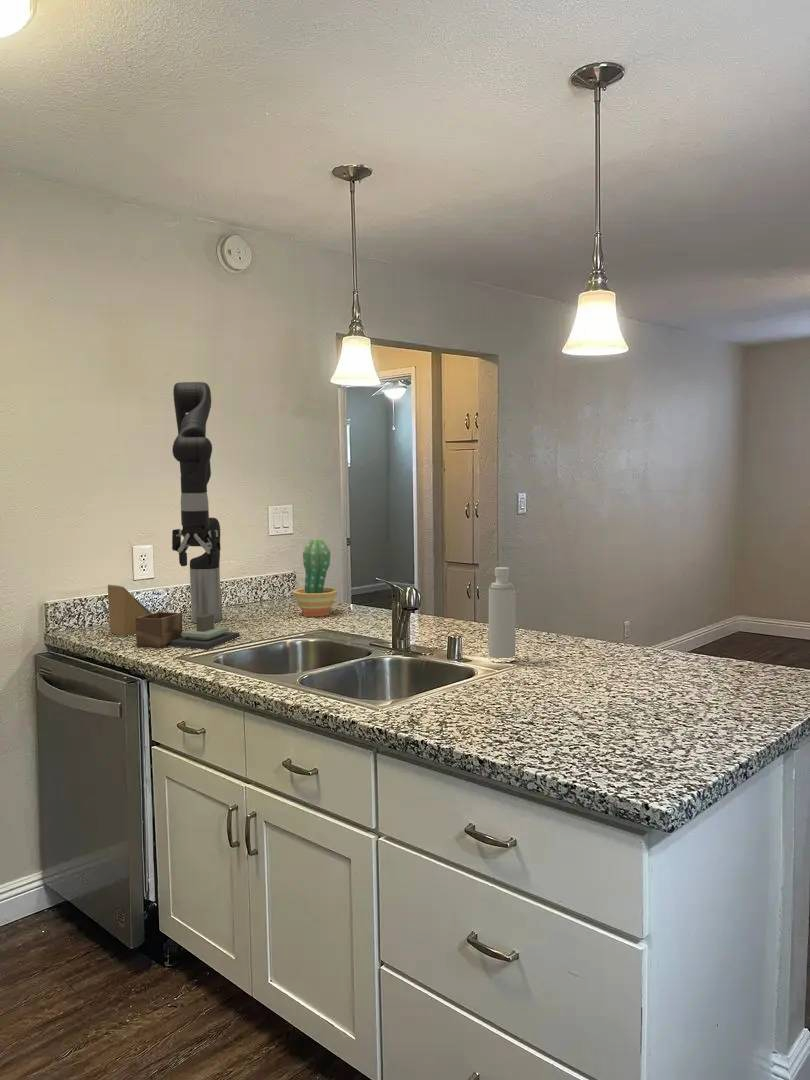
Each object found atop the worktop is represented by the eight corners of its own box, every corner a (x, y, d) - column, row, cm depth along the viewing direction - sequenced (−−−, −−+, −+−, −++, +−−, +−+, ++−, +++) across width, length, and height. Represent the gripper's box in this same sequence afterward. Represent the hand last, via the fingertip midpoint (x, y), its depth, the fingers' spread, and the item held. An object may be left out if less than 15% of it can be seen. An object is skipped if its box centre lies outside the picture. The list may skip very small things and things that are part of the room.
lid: (203, 632, 237) (203, 611, 236) (229, 634, 234) (228, 613, 233) (181, 639, 227) (180, 618, 226) (207, 641, 224) (207, 620, 223)
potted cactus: (348, 613, 273) (347, 539, 271) (314, 620, 262) (312, 542, 260) (317, 608, 283) (316, 536, 281) (282, 615, 272) (281, 540, 270)
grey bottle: (506, 664, 201) (507, 563, 199) (483, 660, 205) (483, 562, 203) (520, 659, 207) (520, 561, 204) (497, 655, 211) (497, 559, 208)
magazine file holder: (170, 629, 250) (168, 580, 249) (125, 637, 238) (123, 586, 237) (154, 626, 255) (152, 578, 254) (109, 634, 244) (107, 584, 242)
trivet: (204, 635, 240) (204, 630, 240) (239, 637, 236) (239, 632, 236) (170, 646, 225) (170, 641, 225) (207, 649, 221) (207, 644, 221)
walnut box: (159, 639, 235) (158, 611, 234) (182, 641, 232) (181, 613, 231) (136, 646, 225) (135, 617, 224) (160, 648, 222) (159, 619, 222)
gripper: (224, 508, 229) (226, 565, 231) (180, 507, 234) (183, 563, 236) (209, 510, 222) (211, 569, 224) (165, 509, 227) (167, 567, 229)
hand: (196, 566), depth 230 cm, fingers open, 8 cm apart
